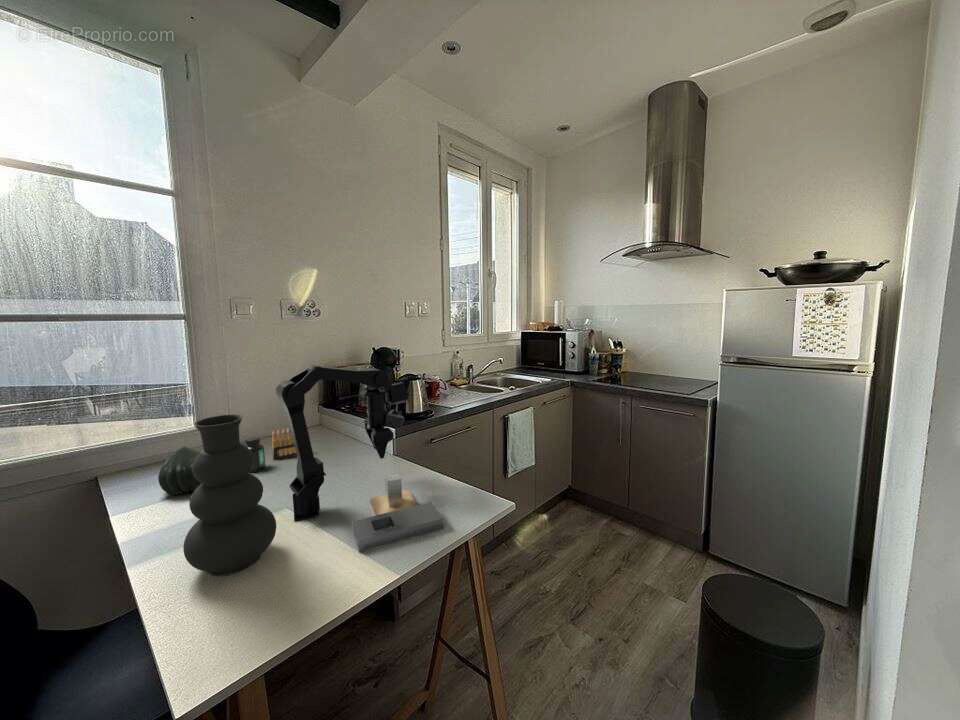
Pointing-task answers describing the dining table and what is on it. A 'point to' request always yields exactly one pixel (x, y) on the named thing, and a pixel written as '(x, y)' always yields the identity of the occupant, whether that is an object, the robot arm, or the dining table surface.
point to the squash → (179, 472)
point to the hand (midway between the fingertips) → (379, 453)
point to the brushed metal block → (393, 490)
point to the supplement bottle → (256, 453)
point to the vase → (226, 502)
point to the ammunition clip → (283, 445)
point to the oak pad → (382, 506)
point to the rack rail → (396, 526)
